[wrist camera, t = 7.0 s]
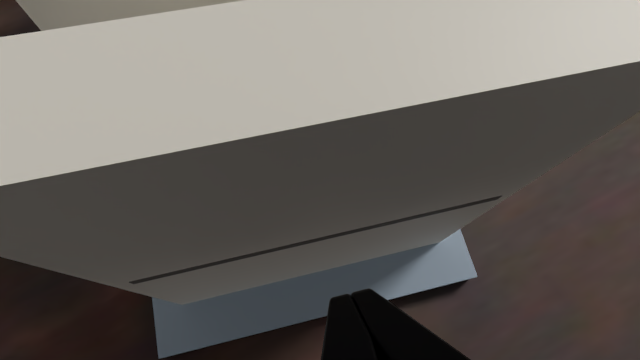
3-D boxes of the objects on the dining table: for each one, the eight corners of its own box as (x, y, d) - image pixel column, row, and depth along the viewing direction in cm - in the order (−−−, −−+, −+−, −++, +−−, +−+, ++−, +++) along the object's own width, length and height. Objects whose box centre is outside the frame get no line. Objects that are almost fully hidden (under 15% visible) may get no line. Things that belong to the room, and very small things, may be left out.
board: (469, 279, 17) (477, 276, 16) (165, 357, 15) (158, 358, 14) (320, -136, 25) (321, -150, 24) (113, -112, 23) (107, -127, 23)
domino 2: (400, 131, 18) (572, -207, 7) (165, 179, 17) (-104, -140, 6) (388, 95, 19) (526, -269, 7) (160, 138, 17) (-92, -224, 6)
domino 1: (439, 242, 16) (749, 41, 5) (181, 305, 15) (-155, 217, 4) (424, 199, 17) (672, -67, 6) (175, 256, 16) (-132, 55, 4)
